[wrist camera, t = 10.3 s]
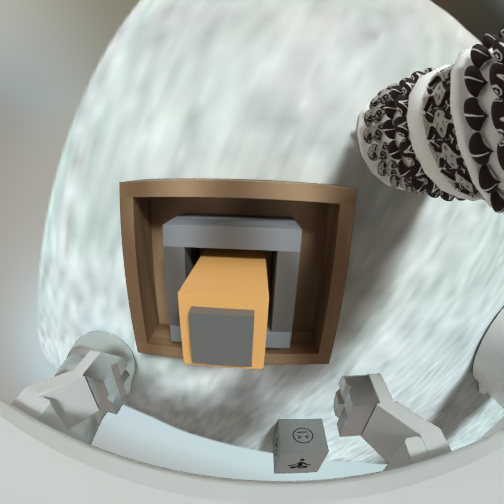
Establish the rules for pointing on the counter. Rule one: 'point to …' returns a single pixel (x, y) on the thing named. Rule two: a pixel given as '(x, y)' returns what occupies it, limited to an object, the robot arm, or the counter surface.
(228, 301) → the block
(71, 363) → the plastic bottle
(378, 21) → the counter surface
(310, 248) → the walled box
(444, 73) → the decorative candle
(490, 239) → the counter surface
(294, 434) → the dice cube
